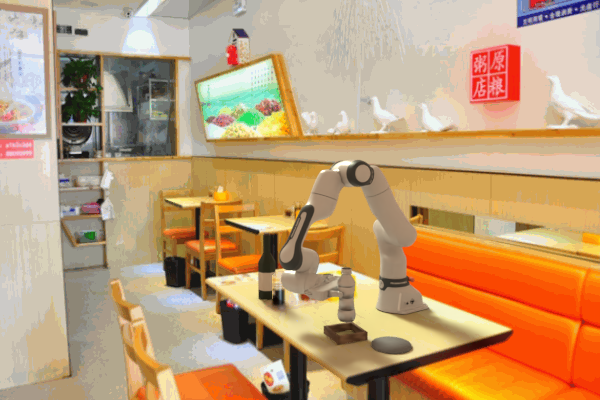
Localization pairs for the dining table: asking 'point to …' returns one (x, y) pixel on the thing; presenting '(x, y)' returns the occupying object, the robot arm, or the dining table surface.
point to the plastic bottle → (346, 296)
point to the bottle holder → (347, 338)
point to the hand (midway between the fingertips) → (348, 292)
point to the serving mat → (391, 345)
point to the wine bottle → (265, 270)
